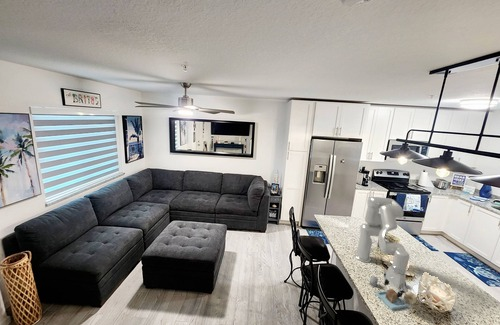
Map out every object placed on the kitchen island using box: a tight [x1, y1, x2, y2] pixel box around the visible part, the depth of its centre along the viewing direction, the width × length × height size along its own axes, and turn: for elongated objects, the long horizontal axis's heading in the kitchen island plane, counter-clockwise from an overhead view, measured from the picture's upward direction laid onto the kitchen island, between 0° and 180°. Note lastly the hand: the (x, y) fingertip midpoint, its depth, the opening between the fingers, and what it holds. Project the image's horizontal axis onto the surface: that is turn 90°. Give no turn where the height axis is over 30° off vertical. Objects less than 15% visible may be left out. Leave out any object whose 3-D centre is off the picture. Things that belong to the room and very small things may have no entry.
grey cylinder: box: [369, 275, 379, 288], centre depth 149 cm, size 4×4×5 cm
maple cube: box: [403, 290, 418, 305], centre depth 137 cm, size 5×5×5 cm
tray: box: [375, 290, 408, 311], centre depth 136 cm, size 12×12×2 cm
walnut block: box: [385, 288, 398, 303], centre depth 136 cm, size 4×4×6 cm
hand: (392, 290), depth 136 cm, fingers open, 9 cm apart
